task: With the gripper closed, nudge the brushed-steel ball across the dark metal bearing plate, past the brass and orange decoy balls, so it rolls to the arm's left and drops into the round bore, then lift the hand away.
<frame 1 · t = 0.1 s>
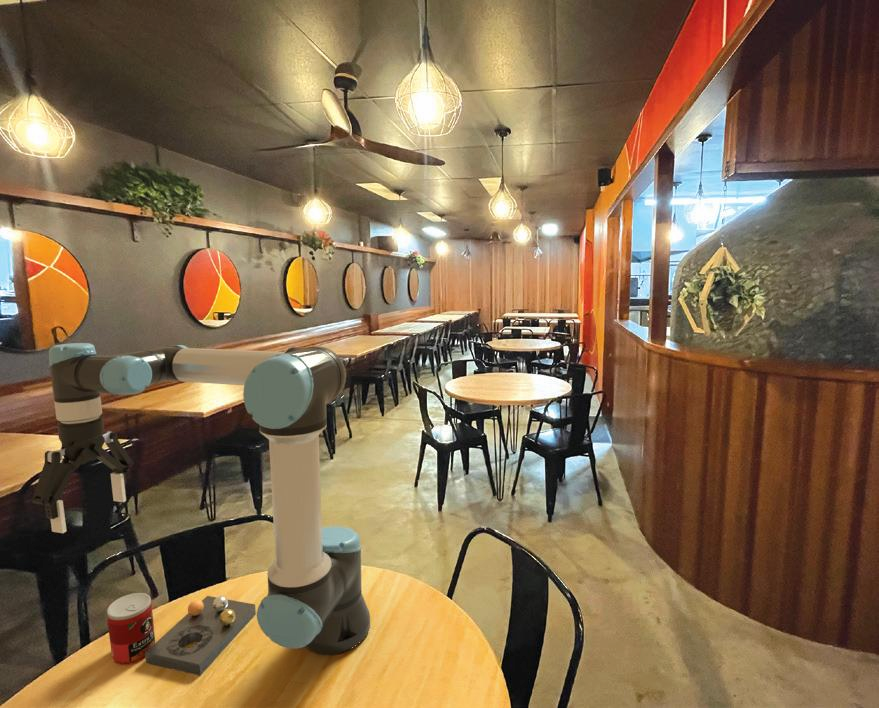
hand: (91, 515, 100), 28 cm above the table, fingers open, 13 cm apart
orange ball: (195, 607, 107), point 4 cm above the table, touching bearing plate
brass ball: (227, 617, 104), point 4 cm above the table, touching bearing plate
steel ball: (220, 603, 108), point 4 cm above the table, touching bearing plate
bearing plate: (204, 636, 104), on the table
canned food: (134, 652, 100), on the table
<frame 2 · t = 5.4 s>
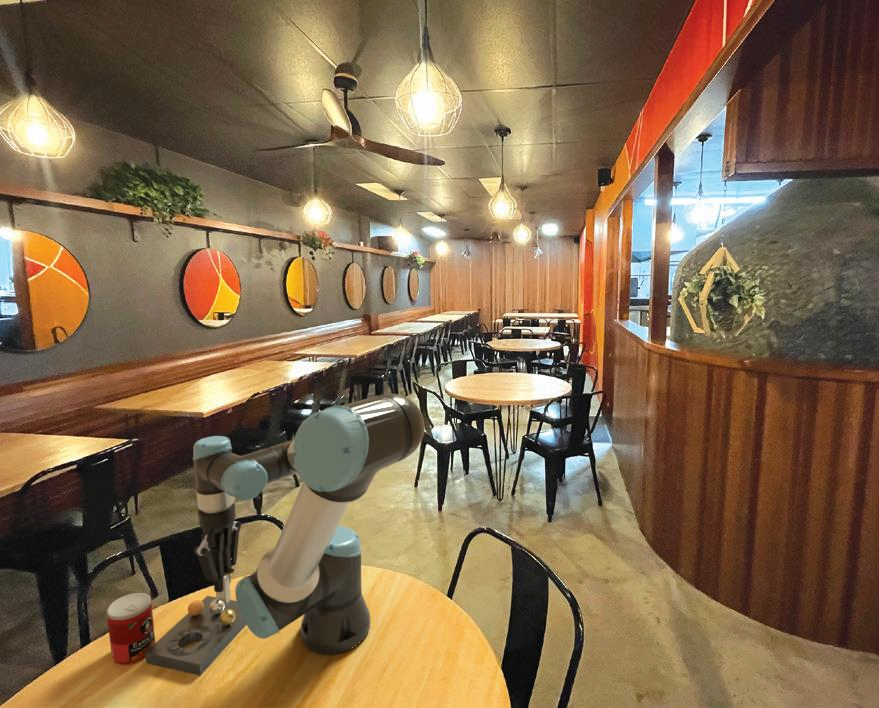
hand: (223, 600, 109), 4 cm above the table, fingers closed
steel ball: (217, 606, 107), point 4 cm above the table, tilted 36°, touching bearing plate, gripper
everything else where it was.
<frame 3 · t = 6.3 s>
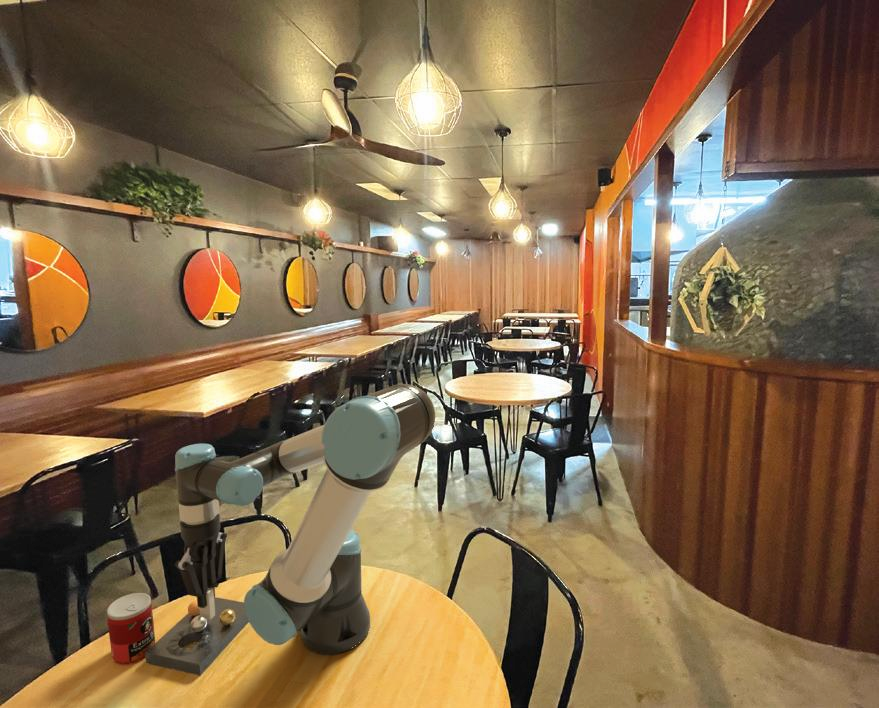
hand: (207, 616, 104), 4 cm above the table, fingers closed
steel ball: (198, 623, 102), point 4 cm above the table, tilted 152°, touching bearing plate
everything else where it was.
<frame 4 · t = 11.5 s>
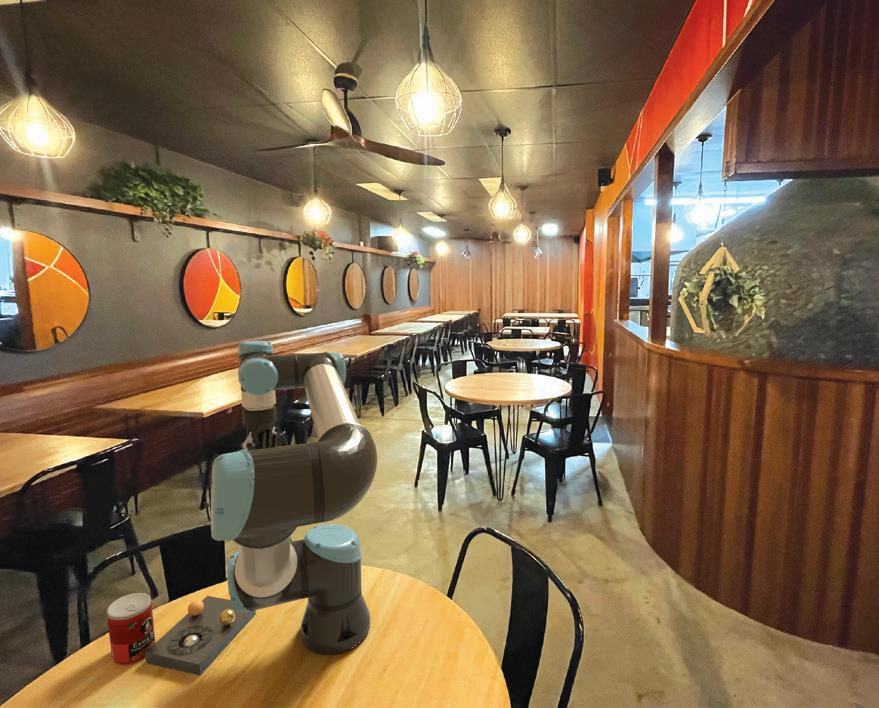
hand: (264, 500, 115), 24 cm above the table, fingers closed
steel ball: (191, 643, 100), point 2 cm above the table, tilted 30°
everything else where it was.
at the end: steel ball 0.2 cm from the target spot in the bearing plate, point 1.6 cm above the bearing plate's base; brass ball moved 0.0 cm from its start; orange ball moved 0.0 cm from its start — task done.
